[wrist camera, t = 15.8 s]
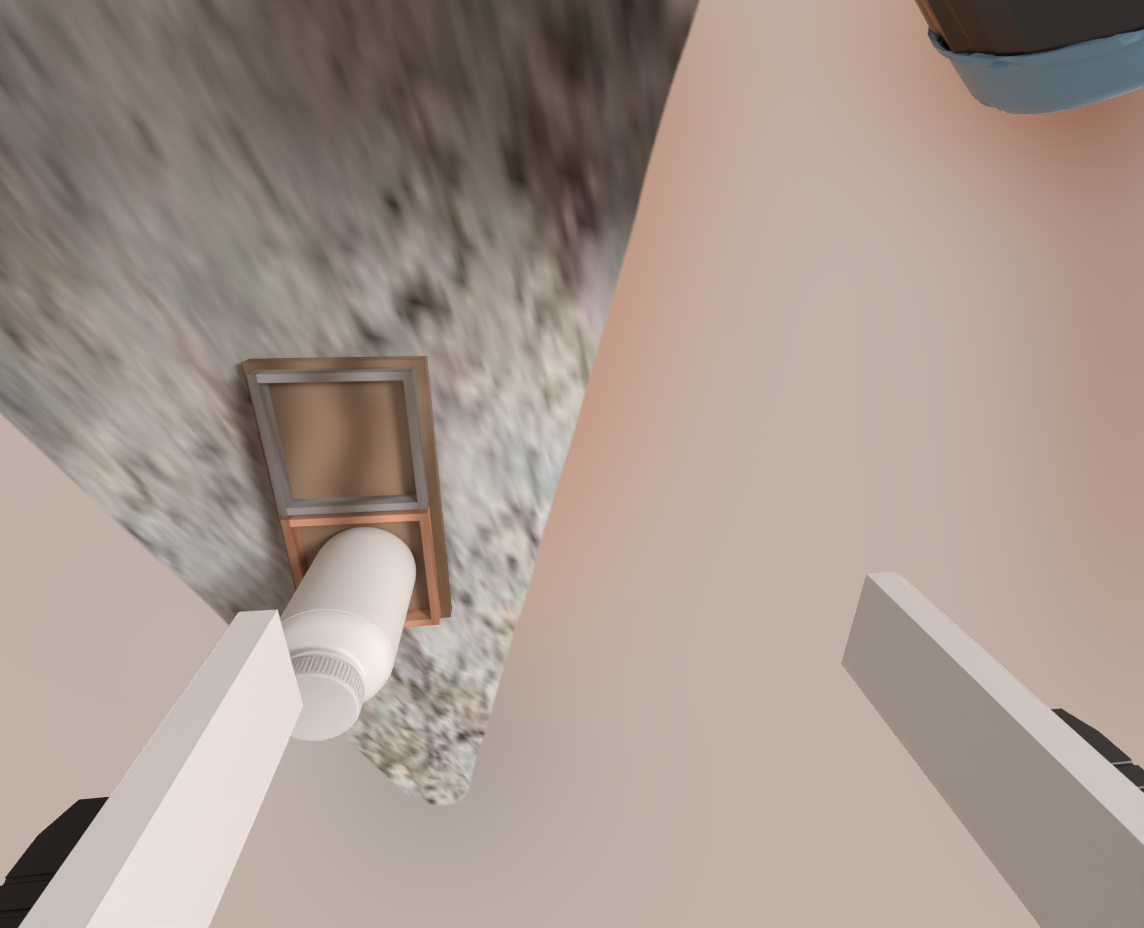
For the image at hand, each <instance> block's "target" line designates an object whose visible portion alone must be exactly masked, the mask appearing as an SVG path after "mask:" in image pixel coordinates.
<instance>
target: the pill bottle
mask: <svg viewBox="0 0 1144 928" xmlns="http://www.w3.org/2000/svg"><path fill="white" fill-rule="evenodd" d="M415 578H416V564H415V560H414V557H413V555H412V553H411V551H410V549H409V548H408V547H407V545H406V544H405V543H404V542H403V541H402V540H401V539H399V538H398V537H397V536H395V535H394V534H392V533H390V532H388V531H385V530H382V529H378V528H373V527H356V528H351V529H347V530H344V531H342V532H340V533H338V534H336V535H335V536H333V537H332V538H331V539H329V540H328V541H327V542H326V543H325V545H324V546H323V547H322V548H321V549H320V551H319V553H318V554H317V556H316V558H315V559H314V561H313V563H312V564H311V566H310V568H309V569H308V571H307V573H306V575H305V576H304V578H303V580H302V581H301V583H300V585H299V586H298V588H297V590H296V591H295V593H294V595H293V597H292V598H291V600H290V602H289V603H288V605H287V607H286V608H285V610H284V612H283V614H282V615H281V617H280V621H281V625H282V628H283V632H284V636H285V639H286V643H287V647H288V651H289V654H290V658H291V662H292V665H293V669H294V673H295V677H296V680H297V684H298V688H299V691H300V695H301V699H302V703H303V708H302V710H301V712H300V715H299V717H298V719H297V722H296V724H295V726H294V729H293V731H292V733H291V736H290V737H292V738H295V739H299V740H305V741H320V740H326V739H330V738H333V737H336V736H338V735H340V734H342V733H344V732H345V731H346V730H348V729H349V728H350V727H351V726H352V725H353V724H354V723H355V722H356V720H357V718H358V716H359V714H360V710H361V707H362V703H364V702H366V701H367V700H369V699H370V698H372V697H373V696H374V695H375V694H376V693H377V692H378V691H379V690H380V689H381V688H382V687H383V685H384V684H385V683H386V681H387V680H388V678H389V676H390V674H391V671H392V668H393V665H394V661H395V658H396V654H397V650H398V646H399V642H400V638H401V634H402V630H403V626H404V622H405V619H406V615H407V611H408V607H409V603H410V599H411V595H412V591H413V587H414V583H415Z"/></svg>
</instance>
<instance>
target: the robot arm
mask: <svg viewBox="0 0 1144 928" xmlns="http://www.w3.org/2000/svg"><path fill="white" fill-rule="evenodd" d="M915 2H916V3H917V5H918V7H919V9H920V11H921V13H922V15H923V16H924V18H925V20H926V22H927V24H928V26H929V29H928V36H929V38H930V40H931V42H932V45H933V46H934V48H935V49H936V50H937V51H938V52H939V53H940V54H942V55H943V56H945V57H947V58H948V59H949V60H950V61H951V63H952V65H953V66H954V68H955V69H956V71H957V73H958V74H959V76H960V78H961V79H962V80H963V82H964V84H965V86H966V87H967V88H968V90H969V92H970V93H971V94H972V96H974V98H975V99H977V100H978V101H979V102H980V103H982V104H983V105H985V106H988V107H994V108H997V109H999V110H1001V111H1005V112H1007V113H1012V114H1041V113H1051V112H1058V111H1063V110H1069V109H1073V108H1078V107H1082V106H1086V105H1090V104H1093V103H1096V102H1100V101H1103V100H1107V99H1110V98H1114V97H1117V96H1120V95H1123V94H1125V93H1129V92H1132V91H1135V90H1137V89H1140V88H1143V87H1144V0H915ZM841 664H842V665H843V666H844V668H845V669H846V670H847V672H848V673H849V674H850V676H851V677H852V678H853V680H854V681H855V682H856V684H857V685H858V686H859V688H860V689H861V690H862V691H863V693H864V694H865V695H866V697H867V698H868V699H869V701H870V702H871V703H872V705H873V706H874V707H875V709H876V710H877V711H878V712H879V714H880V715H881V717H882V718H883V719H884V721H885V722H886V723H887V724H888V726H889V727H890V728H891V730H892V731H893V732H894V734H895V735H896V736H897V738H898V739H899V740H900V742H901V743H902V744H903V746H904V747H905V748H906V750H907V751H908V752H909V754H910V755H911V756H912V757H913V759H914V760H915V761H916V763H917V764H918V766H919V767H920V768H921V769H922V771H923V772H924V773H925V775H926V776H927V777H928V779H929V780H930V781H931V782H932V784H933V785H934V786H935V788H936V789H937V791H938V792H939V793H940V795H941V796H942V797H943V798H944V800H945V801H946V803H947V804H948V805H949V806H950V808H951V809H952V810H953V812H954V813H955V814H956V816H957V817H958V818H959V820H960V821H961V822H962V824H963V825H964V826H965V827H966V829H967V830H968V832H969V833H970V834H971V835H972V837H973V838H974V839H975V841H976V842H977V843H978V845H979V846H980V847H981V849H982V850H983V851H984V853H985V854H986V855H987V857H988V858H989V859H990V860H991V862H992V863H993V864H994V866H995V867H996V869H997V870H998V871H999V873H1000V874H1001V875H1002V876H1003V878H1004V879H1005V880H1006V882H1007V883H1008V884H1009V886H1010V887H1011V888H1012V890H1013V891H1014V892H1015V894H1016V895H1017V896H1018V898H1019V899H1020V900H1021V902H1022V903H1023V904H1024V906H1025V907H1026V908H1027V909H1028V911H1029V912H1030V913H1031V915H1032V916H1033V917H1034V919H1035V920H1036V921H1037V923H1038V924H1039V925H1040V927H1041V928H1144V770H1143V769H1142V768H1141V767H1140V766H1138V765H1133V763H1132V762H1131V759H1130V758H1129V757H1128V756H1127V755H1126V754H1124V753H1123V752H1122V751H1121V750H1120V749H1119V748H1117V747H1116V746H1115V745H1114V744H1113V743H1112V742H1110V741H1109V740H1108V739H1107V738H1106V737H1105V736H1103V735H1102V734H1101V733H1100V732H1099V731H1097V730H1096V729H1094V728H1092V727H1091V726H1089V725H1087V724H1085V723H1084V722H1082V721H1080V720H1079V719H1077V718H1076V717H1074V716H1072V715H1071V714H1069V713H1067V712H1066V711H1064V710H1063V709H1049V708H1048V707H1047V706H1046V705H1045V704H1044V703H1043V702H1042V701H1041V700H1039V699H1038V698H1037V697H1036V696H1035V695H1034V694H1033V693H1032V692H1030V691H1029V690H1028V689H1027V688H1026V687H1025V686H1024V685H1023V684H1021V683H1020V682H1019V681H1018V680H1017V679H1016V678H1015V677H1014V676H1013V675H1011V674H1010V673H1009V672H1008V671H1007V670H1006V669H1005V668H1004V667H1003V666H1001V665H1000V664H999V663H998V662H997V661H996V660H994V658H992V657H991V656H990V655H989V654H988V653H987V652H986V651H985V650H983V649H982V648H981V647H980V646H979V645H978V644H977V643H976V642H975V641H973V640H972V639H971V638H970V637H969V636H968V635H967V634H966V633H964V632H963V631H962V630H961V629H960V628H959V627H958V626H957V625H956V624H955V623H953V622H952V621H951V620H950V619H949V618H948V617H947V616H946V615H944V614H943V613H942V612H941V611H940V610H939V609H938V608H937V607H936V606H934V605H933V604H932V603H931V602H930V601H929V600H928V599H926V598H925V597H924V596H923V595H922V594H921V593H920V592H919V591H918V590H916V589H915V588H914V587H913V586H912V585H911V584H910V583H909V582H907V581H906V580H905V579H904V578H903V577H902V576H901V575H900V574H899V573H897V572H889V573H873V574H866V578H865V581H864V585H863V588H862V592H861V596H860V599H859V603H858V606H857V610H856V613H855V617H854V621H853V624H852V628H851V632H850V635H849V639H848V642H847V646H846V649H845V653H844V657H843V660H842V663H841ZM302 708H303V703H302V699H301V695H300V691H299V688H298V684H297V680H296V677H295V673H294V669H293V665H292V662H291V658H290V654H289V651H288V647H287V643H286V639H285V636H284V632H283V628H282V625H281V621H280V617H279V613H278V610H261V611H245V612H238V614H237V615H236V617H235V618H234V619H233V621H232V622H231V624H230V625H229V627H228V628H227V629H226V631H225V633H224V634H223V635H222V637H221V638H220V639H219V641H218V643H217V644H216V645H215V647H214V648H213V650H212V651H211V652H210V654H209V655H208V657H207V658H206V660H205V661H204V663H203V664H202V665H201V667H200V668H199V670H198V671H197V672H196V674H195V675H194V677H193V678H192V680H191V681H190V683H189V684H188V685H187V687H186V688H185V690H184V691H183V693H182V694H181V695H180V697H179V698H178V700H177V701H176V702H175V704H174V705H173V707H172V708H171V710H170V711H169V713H168V714H167V715H166V717H165V718H164V720H163V721H162V723H161V724H160V725H159V727H158V728H157V730H156V731H155V733H154V734H153V735H152V737H151V738H150V740H149V741H148V743H147V744H146V745H145V747H144V748H143V750H142V751H141V753H140V754H139V756H138V757H137V758H136V760H135V761H134V763H133V764H132V766H131V767H130V769H129V770H128V771H127V773H126V774H125V776H124V777H123V778H122V780H121V781H120V783H119V784H118V786H117V787H116V788H115V790H114V791H113V793H112V794H111V796H110V797H103V798H92V799H81V800H78V801H77V802H76V803H75V804H73V805H72V806H71V807H70V808H69V809H68V810H67V811H65V812H64V813H63V814H62V815H61V816H60V817H59V818H57V819H56V820H55V821H54V822H53V823H52V824H50V825H49V826H48V827H47V828H46V829H45V830H44V831H42V832H41V833H40V834H39V835H38V836H37V837H36V838H35V840H34V841H33V843H32V844H31V845H30V846H29V848H28V849H27V850H26V851H25V853H24V854H23V855H22V857H21V858H20V859H19V860H18V862H17V863H16V865H15V866H14V867H13V868H12V870H11V871H10V872H9V873H8V875H7V876H6V880H5V883H4V884H3V885H2V886H0V928H208V927H209V925H210V923H211V920H212V918H213V915H214V913H215V911H216V908H217V906H218V904H219V902H220V899H221V897H222V894H223V892H224V890H225V887H226V885H227V883H228V880H229V878H230V876H231V873H232V871H233V869H234V866H235V864H236V862H237V859H238V857H239V855H240V852H241V850H242V848H243V845H244V843H245V841H246V838H247V836H248V834H249V831H250V829H251V827H252V824H253V822H254V820H255V817H256V815H257V813H258V810H259V808H260V806H261V803H262V801H263V798H264V796H265V794H266V792H267V789H268V787H269V785H270V782H271V780H272V778H273V775H274V773H275V771H276V768H277V766H278V764H279V761H280V759H281V756H282V754H283V752H284V749H285V747H286V745H287V743H288V740H289V738H290V736H291V733H292V731H293V729H294V726H295V724H296V722H297V719H298V717H299V715H300V712H301V710H302Z"/></svg>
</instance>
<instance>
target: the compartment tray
mask: <svg viewBox="0 0 1144 928" xmlns="http://www.w3.org/2000/svg"><path fill="white" fill-rule="evenodd" d="M242 365H243V369H244V373H245V377H246V382H247V386H248V390H249V394H250V399H251V403H252V407H253V411H254V416H255V420H256V424H257V428H258V433H259V437H260V441H261V445H262V450H263V454H264V458H265V462H266V467H267V471H268V475H269V479H270V484H271V488H272V492H273V496H274V501H275V505H276V509H277V513H278V518H279V522H280V526H281V530H282V535H283V539H284V543H285V547H286V552H287V556H288V560H289V564H290V569H291V573H292V577H293V581H294V586H295V590H297V588H298V586H299V585H300V583H301V581H302V580H303V578H304V576H305V575H306V573H307V571H308V569H309V568H310V566H311V564H312V563H313V561H314V559H315V558H316V556H317V554H318V553H319V551H320V549H321V548H322V547H323V546H324V545H325V543H326V542H327V541H328V540H329V539H331V538H332V537H333V536H335V535H336V534H338V533H340V532H342V531H344V530H347V529H351V528H356V527H373V528H378V529H382V530H385V531H388V532H390V533H392V534H394V535H395V536H397V537H398V538H399V539H401V540H402V541H403V542H404V543H405V544H406V545H407V547H408V548H409V549H410V551H411V553H412V555H413V557H414V560H415V564H416V578H415V583H414V587H413V591H412V595H411V599H410V603H409V607H408V611H407V615H406V619H405V622H404V626H403V627H411V626H425V625H439V622H440V618H445V617H451V610H452V606H451V596H450V586H449V575H448V565H447V555H446V545H445V534H444V524H443V514H442V504H441V494H440V483H439V473H438V463H437V453H436V442H435V432H434V422H433V412H432V402H431V391H430V381H429V371H428V361H427V356H406V357H343V358H279V359H248V360H246V361H244V362H242Z"/></svg>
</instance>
